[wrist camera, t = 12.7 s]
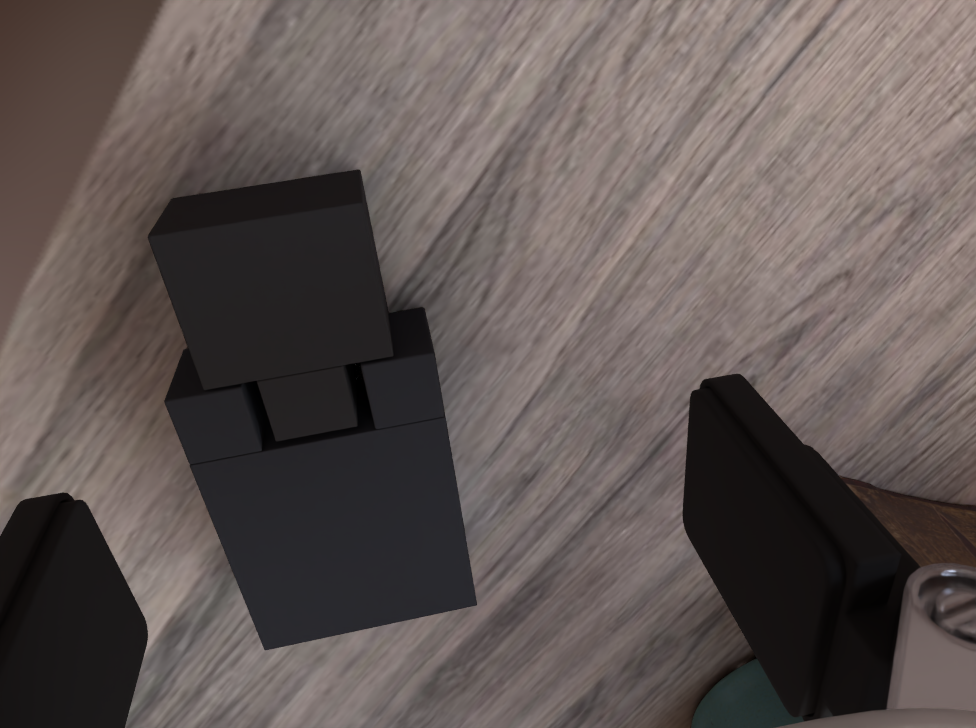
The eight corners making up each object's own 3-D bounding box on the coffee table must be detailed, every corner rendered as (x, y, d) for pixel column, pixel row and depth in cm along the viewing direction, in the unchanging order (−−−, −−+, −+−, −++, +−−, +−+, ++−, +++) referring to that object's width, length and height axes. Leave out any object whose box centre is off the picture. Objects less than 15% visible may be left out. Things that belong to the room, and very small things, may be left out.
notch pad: (183, 348, 30) (163, 401, 27) (424, 306, 31) (434, 352, 28) (271, 585, 37) (264, 650, 34) (464, 545, 38) (477, 605, 35)
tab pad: (170, 198, 27) (146, 236, 24) (360, 168, 28) (362, 201, 24) (238, 395, 32) (225, 451, 28) (399, 366, 32) (406, 417, 29)
